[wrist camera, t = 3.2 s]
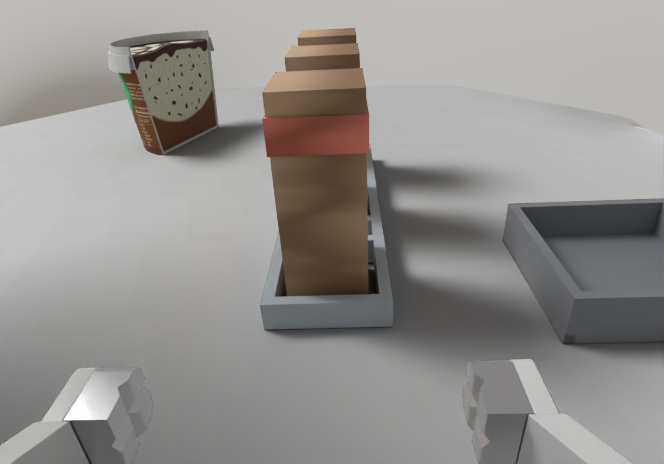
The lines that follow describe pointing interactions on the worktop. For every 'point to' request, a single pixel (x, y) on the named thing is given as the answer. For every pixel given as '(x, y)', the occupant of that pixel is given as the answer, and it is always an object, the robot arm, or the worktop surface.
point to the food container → (167, 86)
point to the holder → (334, 307)
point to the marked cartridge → (320, 178)
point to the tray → (593, 266)
